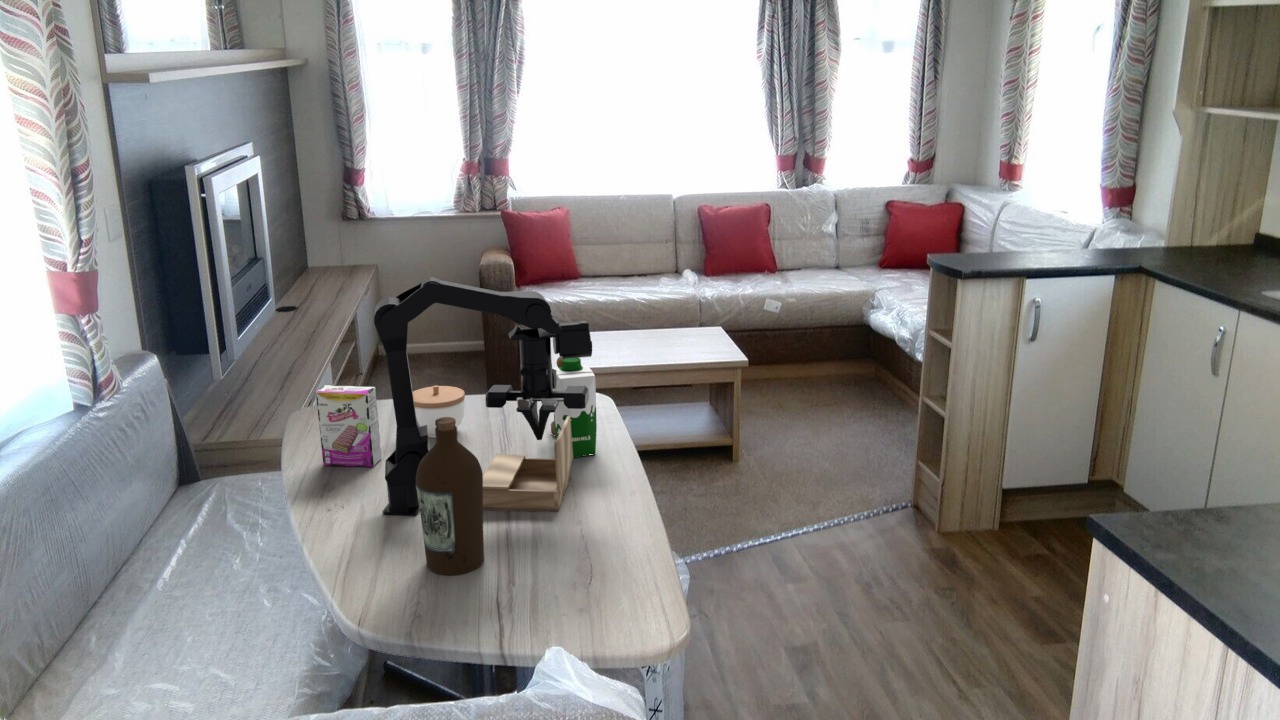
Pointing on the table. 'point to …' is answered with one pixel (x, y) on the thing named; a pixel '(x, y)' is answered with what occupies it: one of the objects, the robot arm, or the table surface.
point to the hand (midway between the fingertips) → (539, 439)
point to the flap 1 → (502, 471)
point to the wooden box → (529, 489)
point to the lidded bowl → (438, 405)
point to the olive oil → (451, 503)
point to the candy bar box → (349, 425)
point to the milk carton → (580, 418)
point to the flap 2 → (563, 453)
